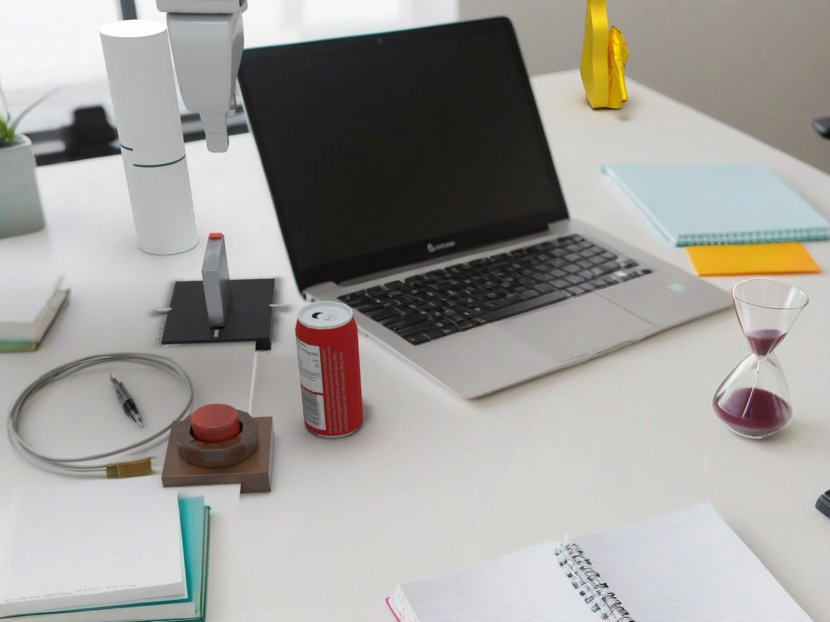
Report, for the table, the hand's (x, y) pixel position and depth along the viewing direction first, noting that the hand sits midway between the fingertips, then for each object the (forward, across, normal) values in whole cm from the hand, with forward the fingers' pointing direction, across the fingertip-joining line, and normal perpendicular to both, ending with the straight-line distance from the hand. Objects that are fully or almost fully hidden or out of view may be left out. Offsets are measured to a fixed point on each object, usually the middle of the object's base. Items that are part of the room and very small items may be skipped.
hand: (222, 131), depth 104 cm
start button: (+20, +19, -1) cm, 27 cm away
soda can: (+24, +12, +9) cm, 28 cm away
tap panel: (+24, -10, -3) cm, 26 cm away
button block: (+24, +18, -1) cm, 30 cm away
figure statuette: (+23, -81, +52) cm, 99 cm away
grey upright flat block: (+22, -10, -3) cm, 24 cm away
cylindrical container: (+24, -30, -11) cm, 41 cm away
